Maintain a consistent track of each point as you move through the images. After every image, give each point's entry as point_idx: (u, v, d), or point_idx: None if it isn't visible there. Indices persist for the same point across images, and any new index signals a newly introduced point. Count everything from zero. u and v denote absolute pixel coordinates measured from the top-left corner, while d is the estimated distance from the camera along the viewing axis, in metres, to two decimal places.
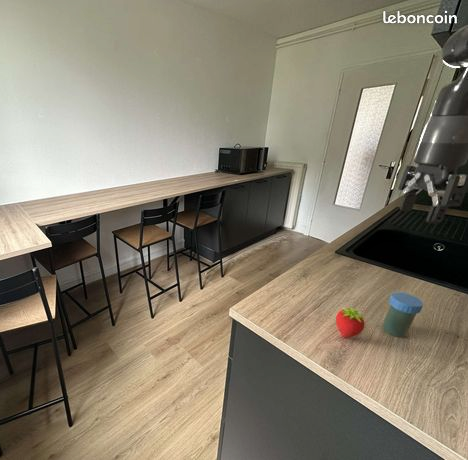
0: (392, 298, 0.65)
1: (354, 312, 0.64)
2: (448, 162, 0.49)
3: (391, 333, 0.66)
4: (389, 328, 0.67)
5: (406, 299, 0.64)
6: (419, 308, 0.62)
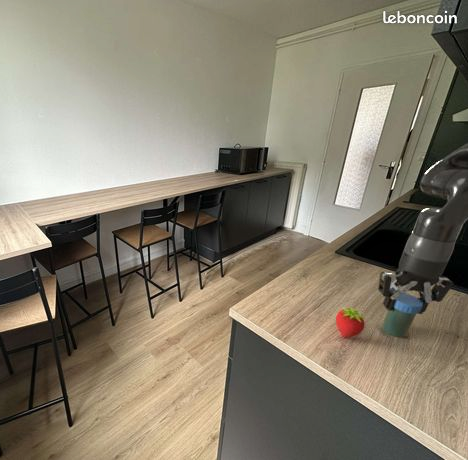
0: None
1: (354, 312, 0.64)
2: None
3: (391, 333, 0.66)
4: (389, 328, 0.67)
5: (406, 299, 0.64)
6: (419, 308, 0.62)
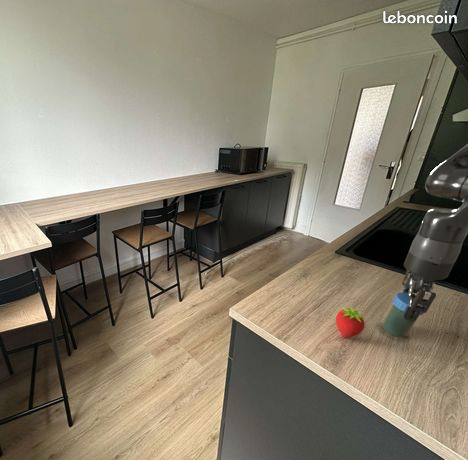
0: None
1: (354, 312, 0.64)
2: None
3: (391, 333, 0.66)
4: (390, 328, 0.66)
5: None
6: None
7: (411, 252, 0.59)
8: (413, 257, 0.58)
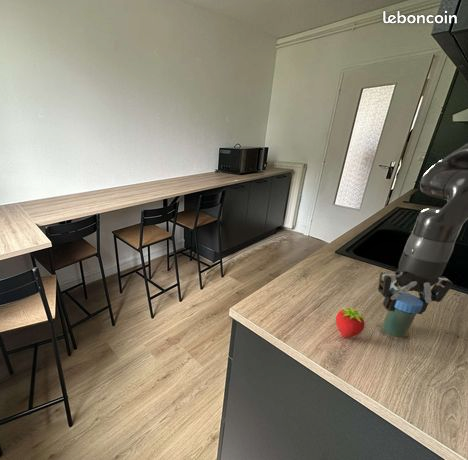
0: (412, 307, 0.61)
1: (354, 312, 0.64)
2: None
3: (391, 333, 0.66)
4: (389, 328, 0.67)
5: (409, 299, 0.63)
6: None
7: None
8: None
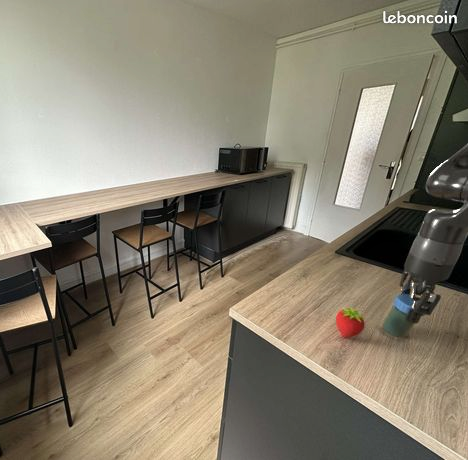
0: None
1: (354, 312, 0.64)
2: None
3: (391, 333, 0.66)
4: (390, 328, 0.66)
5: None
6: None
7: (412, 254, 0.58)
8: (414, 259, 0.58)
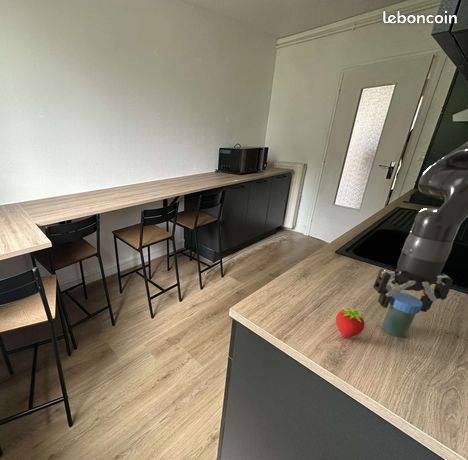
0: None
1: (354, 312, 0.64)
2: None
3: (391, 333, 0.66)
4: (389, 328, 0.66)
5: (407, 298, 0.64)
6: None
7: None
8: None
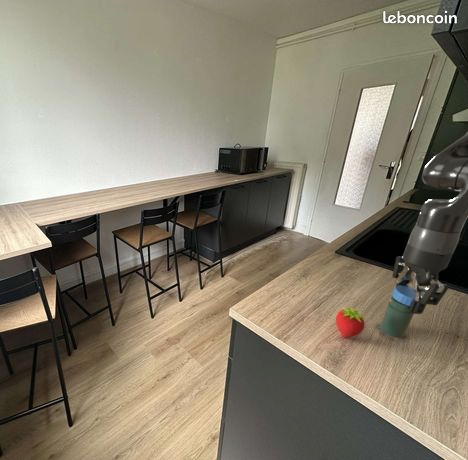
0: (394, 289, 0.64)
1: (354, 312, 0.64)
2: None
3: (392, 335, 0.66)
4: (390, 330, 0.66)
5: (409, 292, 0.63)
6: None
7: (414, 246, 0.58)
8: (417, 251, 0.57)
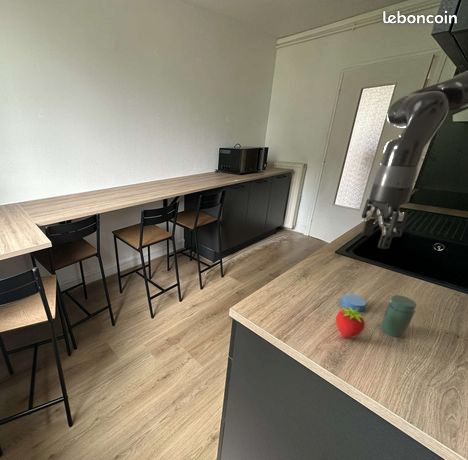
0: (342, 297, 0.78)
1: (354, 312, 0.64)
2: None
3: (392, 335, 0.66)
4: (390, 330, 0.66)
5: (353, 299, 0.77)
6: (360, 307, 0.74)
7: (378, 183, 0.63)
8: (380, 187, 0.62)
